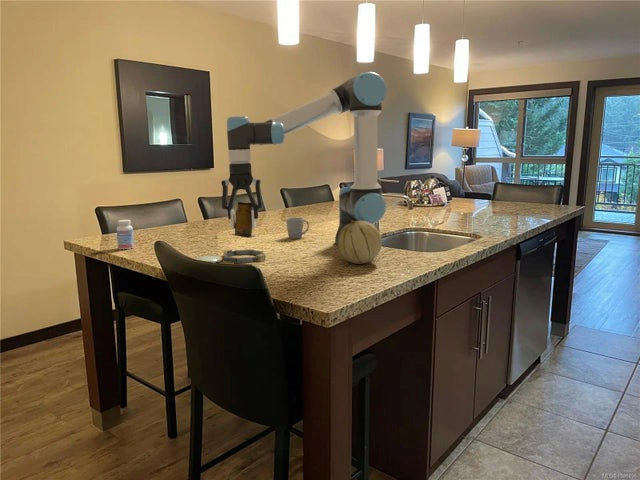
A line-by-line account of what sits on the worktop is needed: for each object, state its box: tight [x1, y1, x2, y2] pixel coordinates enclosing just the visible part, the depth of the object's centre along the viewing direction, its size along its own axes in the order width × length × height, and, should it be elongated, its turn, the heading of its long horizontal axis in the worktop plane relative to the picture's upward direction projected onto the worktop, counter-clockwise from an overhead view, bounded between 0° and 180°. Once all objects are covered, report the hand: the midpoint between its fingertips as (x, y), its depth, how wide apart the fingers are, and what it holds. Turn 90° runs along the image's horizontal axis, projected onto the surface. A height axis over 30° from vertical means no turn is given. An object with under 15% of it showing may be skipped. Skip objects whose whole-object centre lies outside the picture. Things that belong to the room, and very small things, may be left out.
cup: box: [285, 216, 310, 240], centre depth 209 cm, size 8×10×8 cm
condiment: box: [230, 200, 260, 239], centre depth 169 cm, size 7×8×12 cm
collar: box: [223, 248, 266, 264], centre depth 171 cm, size 18×14×2 cm
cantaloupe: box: [337, 221, 383, 265], centre depth 161 cm, size 15×15×15 cm
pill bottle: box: [116, 219, 135, 251], centre depth 189 cm, size 6×6×11 cm
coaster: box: [194, 255, 223, 263], centre depth 168 cm, size 10×10×1 cm
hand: (243, 228), depth 169 cm, fingers closed on condiment, 7 cm apart
